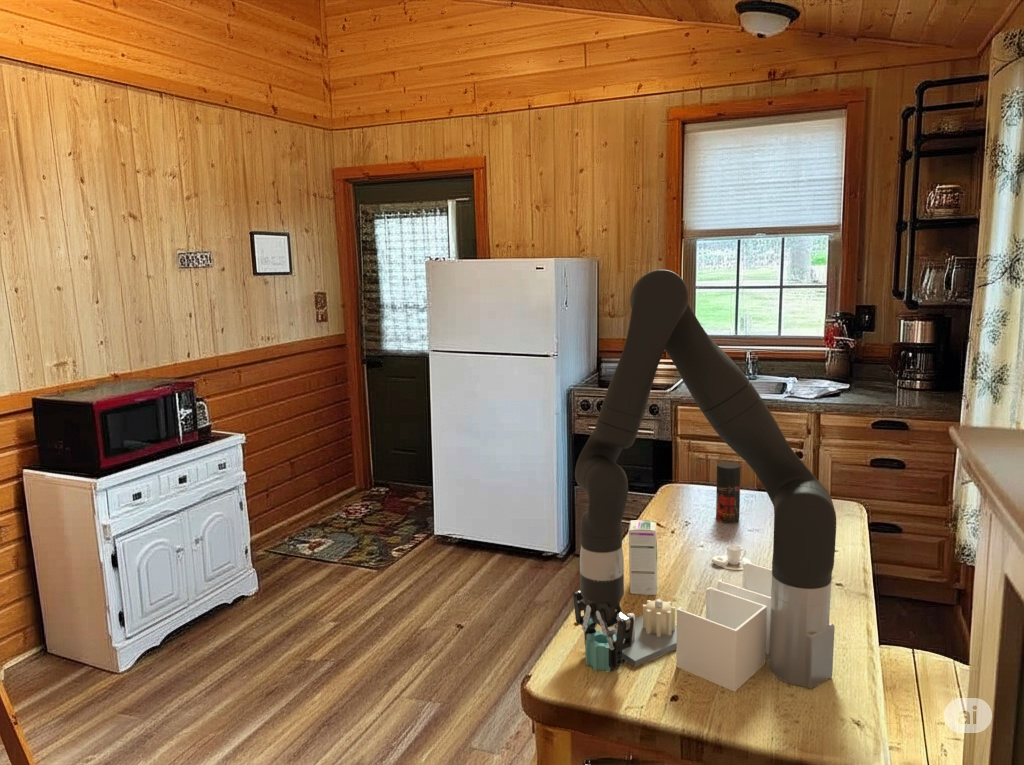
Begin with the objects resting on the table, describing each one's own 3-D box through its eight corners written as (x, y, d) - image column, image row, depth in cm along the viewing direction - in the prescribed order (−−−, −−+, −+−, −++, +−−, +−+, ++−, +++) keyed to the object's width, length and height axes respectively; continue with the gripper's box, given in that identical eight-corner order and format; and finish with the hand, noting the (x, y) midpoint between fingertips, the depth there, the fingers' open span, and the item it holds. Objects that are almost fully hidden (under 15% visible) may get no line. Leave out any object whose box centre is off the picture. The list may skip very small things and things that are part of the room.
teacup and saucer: (710, 569, 164) (711, 552, 163) (713, 555, 172) (713, 538, 171) (751, 573, 161) (752, 556, 161) (752, 559, 169) (752, 542, 168)
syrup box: (657, 595, 152) (657, 530, 149) (628, 594, 153) (628, 529, 150) (657, 583, 157) (657, 520, 155) (629, 581, 159) (629, 519, 156)
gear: (626, 664, 127) (626, 640, 127) (600, 675, 124) (600, 651, 124) (605, 649, 132) (604, 626, 132) (579, 659, 129) (579, 636, 128)
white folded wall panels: (734, 692, 119) (736, 631, 117) (676, 667, 126) (676, 609, 124) (798, 632, 136) (801, 578, 134) (744, 613, 144) (745, 561, 142)
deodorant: (711, 517, 194) (712, 463, 191) (730, 514, 196) (731, 460, 193) (724, 524, 189) (725, 469, 186) (743, 521, 190) (745, 466, 188)
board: (693, 641, 134) (693, 607, 133) (635, 667, 126) (634, 631, 125) (651, 617, 143) (651, 585, 142) (594, 640, 136) (594, 606, 134)
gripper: (646, 578, 121) (646, 669, 124) (592, 550, 133) (593, 634, 136) (612, 590, 117) (613, 685, 120) (559, 560, 129) (561, 647, 132)
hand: (602, 657), depth 128 cm, fingers closed on gear, 6 cm apart
